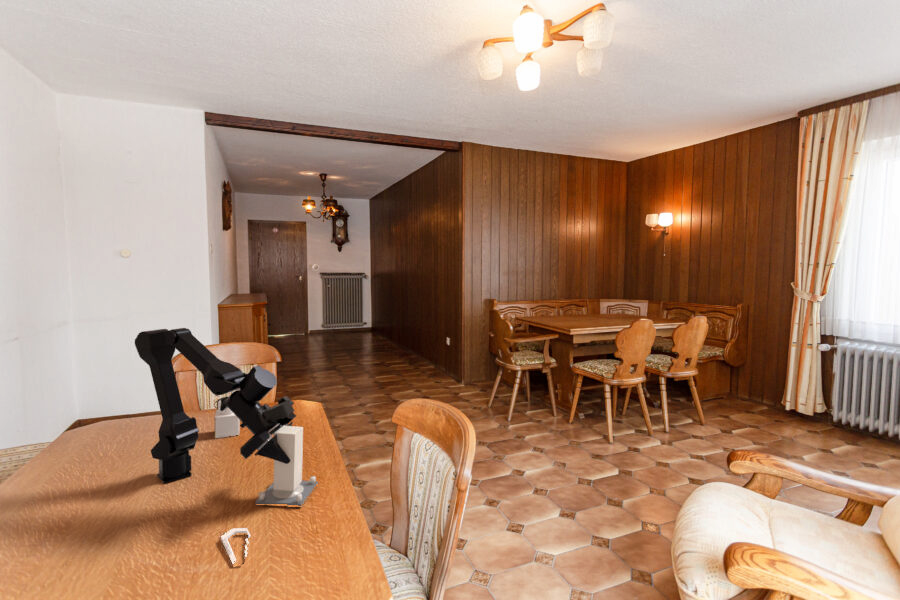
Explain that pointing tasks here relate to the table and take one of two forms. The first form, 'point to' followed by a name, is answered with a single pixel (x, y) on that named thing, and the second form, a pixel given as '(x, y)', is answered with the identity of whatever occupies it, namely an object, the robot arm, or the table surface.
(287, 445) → the block
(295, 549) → the table surface
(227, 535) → the white bent piece
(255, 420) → the robot arm
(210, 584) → the table surface
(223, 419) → the medicine bottle
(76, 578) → the table surface
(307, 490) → the locating plate
